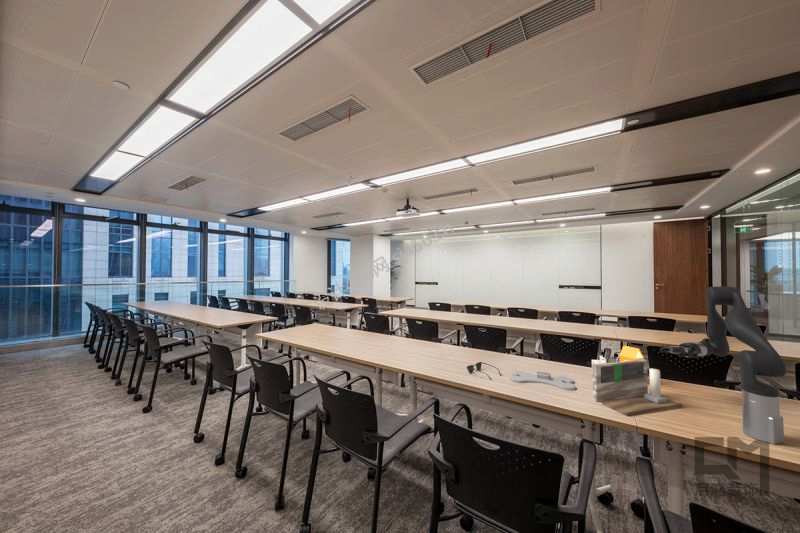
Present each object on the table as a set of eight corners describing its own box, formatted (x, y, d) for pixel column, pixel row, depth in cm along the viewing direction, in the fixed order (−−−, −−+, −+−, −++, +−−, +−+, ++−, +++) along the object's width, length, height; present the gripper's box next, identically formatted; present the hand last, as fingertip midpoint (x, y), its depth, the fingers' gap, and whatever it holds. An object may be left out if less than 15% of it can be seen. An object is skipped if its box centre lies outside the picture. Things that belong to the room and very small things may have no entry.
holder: (576, 392, 156) (576, 383, 156) (509, 382, 171) (509, 373, 171) (573, 380, 173) (572, 372, 173) (512, 372, 188) (512, 364, 188)
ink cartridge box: (591, 378, 175) (590, 354, 176) (600, 379, 174) (600, 354, 175) (598, 384, 167) (597, 358, 167) (607, 384, 166) (607, 359, 166)
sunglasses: (489, 381, 172) (489, 373, 172) (466, 374, 185) (465, 366, 185) (503, 375, 182) (503, 367, 182) (481, 368, 195) (481, 361, 195)
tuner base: (681, 407, 138) (680, 369, 138) (627, 416, 129) (626, 375, 130) (643, 392, 154) (642, 359, 154) (593, 400, 146) (592, 364, 146)
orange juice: (628, 377, 177) (627, 344, 178) (644, 382, 169) (643, 348, 169) (619, 379, 174) (619, 346, 175) (636, 384, 166) (635, 349, 167)
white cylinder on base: (666, 401, 139) (665, 371, 140) (657, 403, 138) (656, 372, 138) (643, 392, 150) (642, 364, 150) (634, 394, 148) (633, 365, 149)
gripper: (676, 339, 156) (653, 341, 152) (710, 345, 142) (687, 348, 138) (676, 353, 156) (654, 355, 152) (710, 361, 142) (687, 364, 138)
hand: (669, 352), depth 145 cm, fingers open, 7 cm apart
